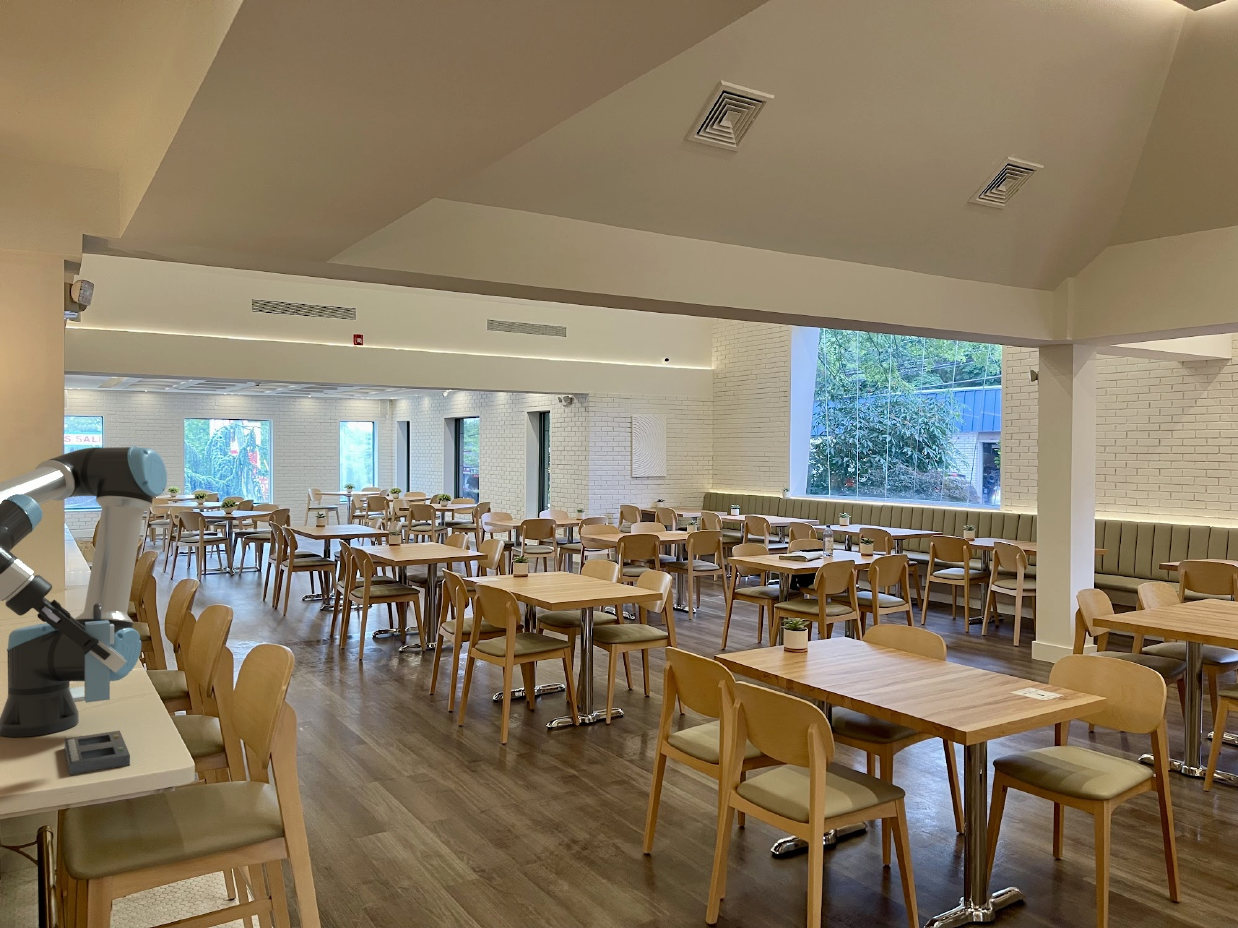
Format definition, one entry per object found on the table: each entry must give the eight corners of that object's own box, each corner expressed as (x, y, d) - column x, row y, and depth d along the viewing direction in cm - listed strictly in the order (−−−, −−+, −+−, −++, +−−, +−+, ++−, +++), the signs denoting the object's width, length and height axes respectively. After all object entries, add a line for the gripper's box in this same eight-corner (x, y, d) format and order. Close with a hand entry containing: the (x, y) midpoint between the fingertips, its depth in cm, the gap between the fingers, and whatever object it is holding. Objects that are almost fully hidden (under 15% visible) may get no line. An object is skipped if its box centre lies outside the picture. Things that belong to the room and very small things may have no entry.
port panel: (64, 748, 184) (64, 737, 184) (119, 739, 190) (119, 728, 190) (69, 775, 168) (69, 762, 168) (129, 765, 173) (129, 753, 173)
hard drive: (63, 688, 231) (70, 697, 221) (99, 684, 236) (107, 692, 226) (63, 695, 231) (70, 704, 221) (99, 690, 236) (107, 699, 226)
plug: (84, 698, 175) (84, 602, 175) (112, 694, 178) (112, 600, 178) (85, 702, 172) (86, 605, 172) (114, 698, 174) (114, 603, 175)
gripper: (3, 598, 173) (100, 672, 182) (2, 608, 159) (108, 688, 168) (35, 569, 176) (130, 643, 185) (37, 577, 162) (139, 657, 171)
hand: (119, 664), depth 177 cm, fingers closed on plug, 4 cm apart
